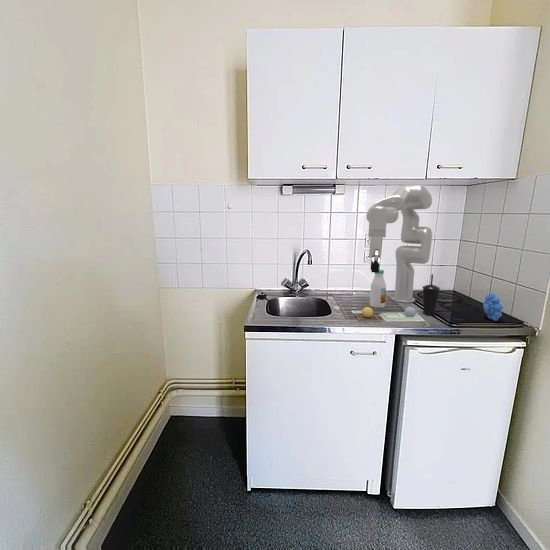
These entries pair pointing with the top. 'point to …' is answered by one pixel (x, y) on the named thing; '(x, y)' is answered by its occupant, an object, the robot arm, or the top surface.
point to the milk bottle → (378, 291)
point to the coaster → (367, 318)
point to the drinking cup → (430, 298)
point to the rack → (400, 317)
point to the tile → (357, 312)
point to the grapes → (492, 307)
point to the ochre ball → (367, 312)
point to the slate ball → (410, 312)
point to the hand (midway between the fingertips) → (374, 271)
